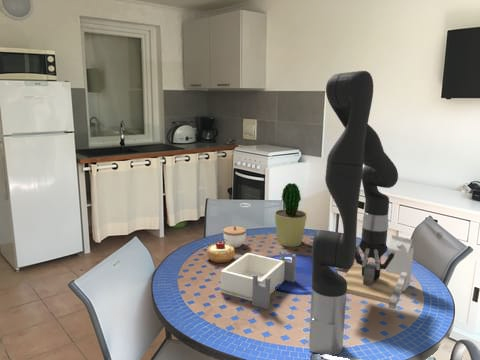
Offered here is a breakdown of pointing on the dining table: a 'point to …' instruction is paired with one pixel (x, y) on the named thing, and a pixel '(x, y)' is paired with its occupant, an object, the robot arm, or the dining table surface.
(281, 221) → the potted cactus
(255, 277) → the white open box
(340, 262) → the robot arm
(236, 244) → the lidded jar
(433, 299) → the dining table surface
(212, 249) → the pastry
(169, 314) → the dining table surface
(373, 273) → the door
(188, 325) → the dining table surface
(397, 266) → the milk carton
